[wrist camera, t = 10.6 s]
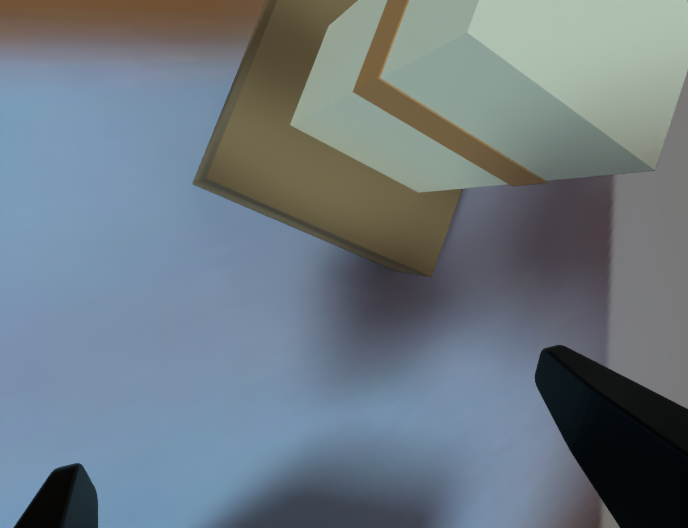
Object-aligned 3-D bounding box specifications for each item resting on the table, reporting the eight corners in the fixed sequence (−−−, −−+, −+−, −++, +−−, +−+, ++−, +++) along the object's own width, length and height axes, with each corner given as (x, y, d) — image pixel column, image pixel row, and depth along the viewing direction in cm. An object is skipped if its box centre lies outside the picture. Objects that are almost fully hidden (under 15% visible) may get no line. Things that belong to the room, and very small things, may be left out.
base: (395, 270, 24) (431, 276, 22) (192, 184, 20) (206, 178, 17) (463, 80, 25) (506, 63, 22) (282, -42, 21) (309, -81, 18)
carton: (419, 194, 21) (656, 173, 12) (288, 125, 18) (464, 33, 9) (451, 103, 21) (706, 17, 12) (327, 24, 19) (534, -159, 10)
